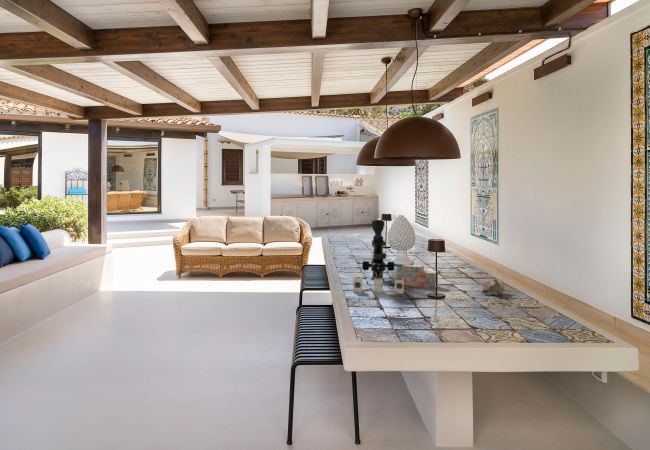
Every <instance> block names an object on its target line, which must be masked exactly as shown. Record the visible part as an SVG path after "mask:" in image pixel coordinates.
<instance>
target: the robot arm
mask: <svg viewBox="0 0 650 450" xmlns="http://www.w3.org/2000/svg"><path fill="white" fill-rule="evenodd" d="M385 222H386V221H385V220H384V219H373V220H371V227H372V231H373V232H374V236H372V237H373V238H372V240H371V246H372V247H373V251H372V252H373V253H372V255H373V257H372V259H371V260H372V261H371V262H370V261H369V260H367V261H366V260H363V261H362V262H361V263H362V265H361V266H362V271H369V270H371V272H372V277H371V278H370V279H371V280H373V281H374V278H383V280H385V278H384V277H383V276H384V273H383V272H385V271H386V269H387V271H389V272H392V271H393V272H394V271H395V262H394V261H387V263H385V261H384V260H386V259H387V253H386V252H384V247H385V246H387V245H386V244H387V243H386V241H385V240H384V236H383V235H382V233H383V231H384V227H385Z"/></svg>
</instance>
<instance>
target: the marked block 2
mask: <svg viewBox="0 0 650 450" xmlns="http://www.w3.org/2000/svg"><path fill="white" fill-rule="evenodd" d="M404 291H405V285H404V279H403V278H402V277H401V278H400V277H394V294H395V295H396V294H398V295H402V294H404V293H405V292H404Z"/></svg>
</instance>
